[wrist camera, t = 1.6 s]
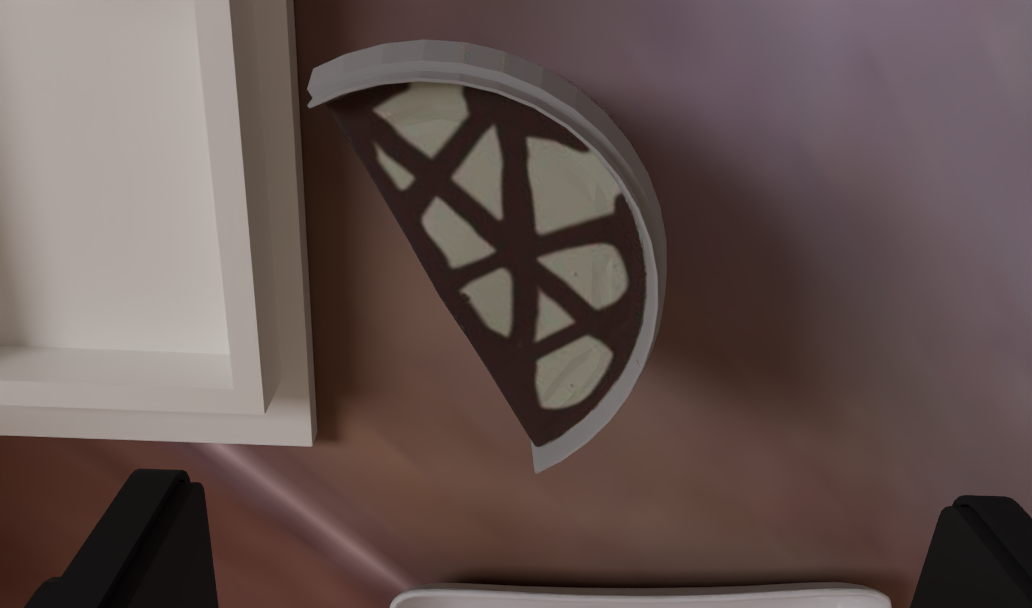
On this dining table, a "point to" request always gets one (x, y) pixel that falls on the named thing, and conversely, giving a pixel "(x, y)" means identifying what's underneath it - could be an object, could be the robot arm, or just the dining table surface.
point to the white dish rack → (153, 223)
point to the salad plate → (643, 596)
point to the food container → (515, 221)
